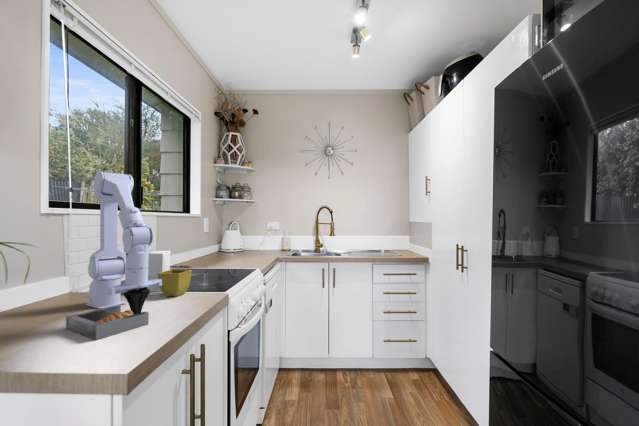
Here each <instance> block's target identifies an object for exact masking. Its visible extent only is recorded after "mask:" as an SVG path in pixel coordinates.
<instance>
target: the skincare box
mask: <svg viewBox="0 0 639 426" xmlns="http://www.w3.org/2000/svg"><path fill="white" fill-rule="evenodd" d="M168 270H171V250H154V251H150V252H149V257H148V280H154V279H158V273H160V272H164V271H168ZM147 289H149V290H150V293H163V292H162V291H161V289H160V286H155V287H150V288H147Z"/></svg>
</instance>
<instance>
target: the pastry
mask: <svg viewBox="0 0 639 426" xmlns="http://www.w3.org/2000/svg"><path fill="white" fill-rule="evenodd" d="M131 315H133V312H132V311H131V309H128V310H125V311H121V312H117V313H113V314H111V315H109V316H107V317H105V318H102V319H100V320H98V321H97V323H104V322H108V321H112V320H115V319H119V318H123V317H127V316H131Z"/></svg>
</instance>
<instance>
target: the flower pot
mask: <svg viewBox="0 0 639 426" xmlns="http://www.w3.org/2000/svg"><path fill="white" fill-rule="evenodd" d="M191 278H192V269H170V270H168V271H164V272H160V273H158V279H162V286H160V289H161V291H162V292H161V293H162V294H163V295H164V296H165V297H179V296H182V295H183V294H184V295H185V293H186V292H187V290H188V289H189V286H190V284H191V280H192V279H191Z"/></svg>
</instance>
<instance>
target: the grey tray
mask: <svg viewBox="0 0 639 426" xmlns="http://www.w3.org/2000/svg"><path fill="white" fill-rule="evenodd" d="M121 305H122V304H121ZM121 305H114V306H110V307H105V308H101V309H98V308H96V309H92V310H89V311H84V312H81V313H75V314H72V315H70V314H69V315H67V316H65V329H66V330H68V331H71V332H73V333H76V334H79V335H80V336H84V337H86V338H90V339H92V340H95V341H98V340H102V339H105V338H108V337H111V336H114V335H117V334H121V333H125V332H127V331H131V330H133V329H137V328H140V327H144V326H148V325H149V317H150V316H149V313H150V312H149V311H141V313H138V314H134V315H131V316H127V317H123V318H119V319H115V320H112V321H108V322H104V323H97V321H98V320H100V319H102V318H105V317H107V316H109V315H111V314H113V313H117V312H122V311H121V308H122V306H121Z"/></svg>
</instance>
